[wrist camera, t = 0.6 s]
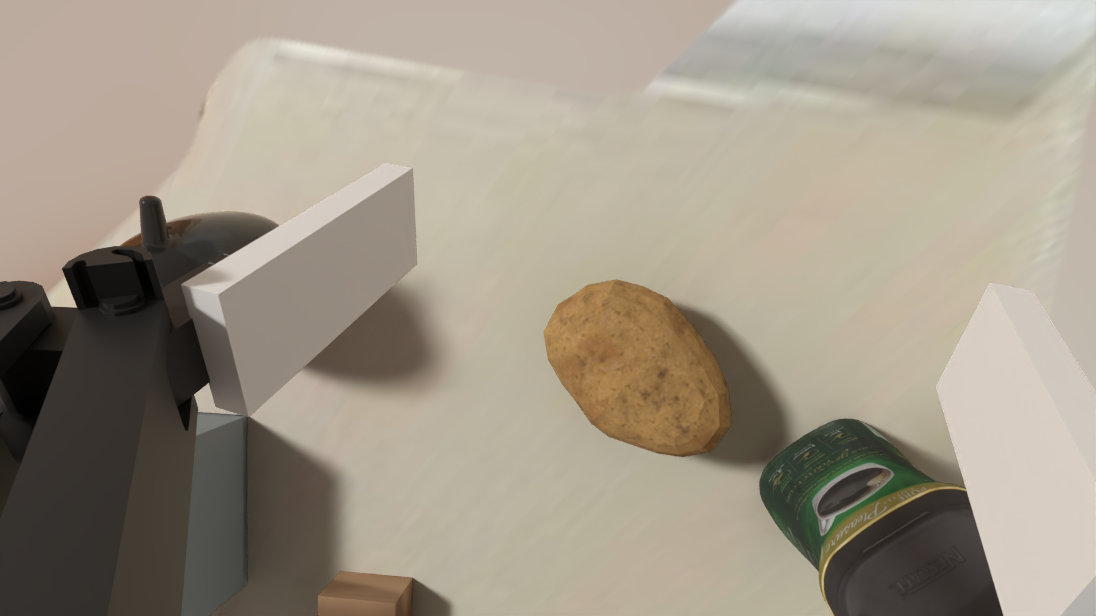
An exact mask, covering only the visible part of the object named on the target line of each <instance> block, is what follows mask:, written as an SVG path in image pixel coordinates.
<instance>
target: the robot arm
mask: <svg viewBox="0 0 1096 616" xmlns="http://www.w3.org/2000/svg"><path fill="white" fill-rule="evenodd" d="M416 265H417V248H416V227H415V206H414V185H413V168H410V167H404V166H399V165H394V164H389V163H384V164H383V165H381V166H379V167H378V168H376V169H374V170H373V171H371V172H369V173H368V174H366V175H364V176H363V177H361V178H359V179H358V180H356V181H354V182H353V183H351V184H349V185H347V186H346V187H344V188H342V189H341V190H339V191H337V192H336V193H334V194H332V195H331V196H329V197H327V198H326V199H324V200H322V201H321V202H319V203H317V204H315V205H314V206H312V207H310V208H309V209H307V210H305V211H304V212H302V213H300V214H299V215H297V216H295V217H294V218H292V219H290V220H289V221H287V222H285V223H284V224H282V225H280V226H278V227H277V228H275V229H273V230H272V231H270V232H268V233H267V234H264V235H261V236H257V237H254V238H251V239H248V240H245V241H242V242H240V243H238V244H237V245H235V246H233V247H232V248H230V249H228V250H226V251H225V252H224V254H223V255H221V254H220V255H218V256H216V257H214V258H213V259H211V260H209V263H208V264H206V263H204V264H202V265H201V266H199V267H197V268H196V269H194V270H192V271H190V272H189V273H187V274H185V275H184V276H182V277H180V278H178V279H177V280H175V281H173V282H172V283H170V284H168V285H166V286H165V287H163V288H161V285H160V282H159V278H158V275H157V272H156V269H155V265H154V262H153V259H152V255H151V253H150V252H148V251H147V250H145V249H143V248H138V247H133V246H113V247H108V248H102V249H96V250H93V251H90V252H87V253H84V254H81V255H79V256H78V257H76V258H74V259H72V260H70V261H68V263H67V264H66V265H65V266H64V267H63V268H62V270H63V272H64V275H65V278H66V280H67V283H68V285H69V288H70V290H71V293H72V295H73V298H74V300H75V303H76V306H77V308H71V307H51V305H50V303H49V301H48V298H47V296H46V294H45V292H44V289H43V287H42V286H41V285H39V284H37V283H34V282H27V281H12V282H7V281H3V282H0V616H181V611H182V599H183V587H184V574H185V562H186V550H187V538H188V526H189V514H190V501H191V489H192V477H193V465H194V453H195V441H196V428H197V416H198V407H197V403H196V400H195V397H194V394H195V393H196V392H198V391H199V390H200V389H201V388H203V387H204V386H205V385H206V384H208V383H209V385H210V389H211V392H212V396H213V399H214V403H215V406H216V407H218V408H221V409H224V410H227V411H231V412H234V413H237V414H240V415H243V416H246V417H250V416H251V415H252V414H253V413H254V412H255V411H256V410H257V409H259V408H260V407H261V406H262V405H263V404H264V403H265V402H266V401H267V400H268V399H269V398H271V397H272V396H273V395H274V394H275V393H276V392H277V391H278V390H279V389H280V388H282V387H283V386H284V385H285V384H286V383H287V382H288V381H289V380H290V379H291V378H293V377H294V376H295V375H296V374H297V373H298V372H299V371H300V370H301V369H302V368H304V367H305V366H306V365H307V364H308V363H309V362H310V361H311V360H312V359H313V358H315V357H316V356H317V355H318V354H319V353H320V352H321V351H322V350H323V349H324V348H326V347H327V346H328V345H329V344H330V343H331V342H332V341H333V340H334V339H335V338H337V337H338V336H339V335H340V334H341V333H342V332H343V331H344V330H345V329H346V328H348V327H349V326H350V325H351V324H352V323H353V322H354V321H355V320H356V319H357V318H358V317H360V316H361V315H362V314H363V313H364V312H365V311H366V310H367V309H368V308H369V307H371V306H372V305H373V304H374V303H375V302H376V301H377V300H378V299H379V298H380V297H382V296H383V295H384V294H385V293H386V292H387V291H388V290H389V289H390V288H391V287H393V286H394V285H395V284H396V283H397V282H398V281H399V280H400V279H401V278H402V277H404V276H405V275H406V274H407V273H408V272H409V271H410V270H411V269H412V268H413V267H415V266H416ZM936 389H937V392H938V396H939V399H940V402H941V406H942V409H943V413H944V416H945V419H946V423H947V426H948V430H949V433H950V436H951V440H952V443H953V446H954V450H955V453H956V457H957V460H958V463H959V467H960V470H961V474H962V477H963V480H964V484H965V487H966V490H967V494H968V497H969V501H970V504H971V507H972V511H973V514H974V518H975V521H976V524H977V528H978V531H979V534H980V538H981V541H982V545H983V548H984V551H985V555H986V558H987V562H988V565H989V568H990V572H991V575H992V578H993V582H994V585H995V589H996V592H997V595H998V599H999V602H1000V606H1001V609H1002V612H1003V616H1096V391H1095V390H1094V388H1093V386H1092V385H1091V383H1090V382H1089V380H1088V379H1087V377H1086V375H1085V374H1084V372H1083V371H1082V369H1081V367H1080V366H1079V364H1078V363H1077V361H1076V360H1075V358H1074V356H1073V355H1072V353H1071V351H1070V350H1069V348H1068V347H1067V345H1066V344H1065V342H1064V341H1063V339H1062V337H1061V336H1060V334H1059V332H1058V331H1057V329H1056V328H1055V326H1054V325H1053V323H1052V321H1051V320H1050V318H1049V317H1048V315H1047V313H1046V312H1045V310H1044V309H1043V307H1042V305H1041V304H1040V302H1039V301H1038V299H1037V298H1036V296H1035V294H1034V293H1033V291H1031V290H1026V289H1021V288H1016V287H1011V286H1006V285H1001V284H996V283H991V282H990V284H989V285H988V287H987V289H986V291H985V293H984V295H983V297H982V299H981V301H980V303H979V305H978V307H977V308H976V310H975V312H974V314H973V316H972V318H971V320H970V322H969V324H968V326H967V328H966V330H965V332H964V333H963V335H962V337H961V339H960V341H959V343H958V345H957V347H956V349H955V351H954V353H953V355H952V357H951V358H950V360H949V362H948V364H947V366H946V368H945V370H944V372H943V374H942V376H941V378H940V380H939V382H938V383H937V385H936Z"/></svg>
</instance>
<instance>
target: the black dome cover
mask: <svg viewBox="0 0 1096 616" xmlns="http://www.w3.org/2000/svg"><path fill="white" fill-rule="evenodd" d="M139 204H140V222H141V233H139V234H137V235H135V236H134V237H132V238H130V239H129V240H127V241H126V242H124V243H123V244H121V245H120V246H133V247H138V248H143V249H145V250H147V251H148V252H150V253H151V255H152V259H153V262H154V265H155V269H156V272H157V275H158V278H159V282H160V285H161V288H163V287H165V286H166V285H168V284H170V283H172V282H173V281H175V280H177V279H178V278H180V277H182V276H184V275H185V274H187V273H189V272H190V271H192V270H194V269H196V268H197V267H199V266H201V265H202V264H204V263H206V264H208V263H209V260H211V259H213V258H214V257H216V256H218V255H220V254H221V255H223V254H224V252H225V251H226V250H228V249H230V248H232V247H233V246H235V245H237V244H238V243H240V242H242V241H245V240H248V239H251V238H254V237H257V236H261V235H264V234H267V233H268V232H270V231H272V230H273V229H275V228H277V227H278V226H279V225H278V224H276V223H275V222H273V221H271V220H269V219H267V218H265V217H262V216H259V215H256V214H252V213H246V212H235V211H224V212H210V213H201V214H195V215H190V216H185V217H181V218H177V219H174V220H171V221H168V222H166V219H165V215H164V211H163V206H162V202H161V200H160V199H159V198H158V197H155V196H144V197H142V198H141V199H140V201H139Z"/></svg>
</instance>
